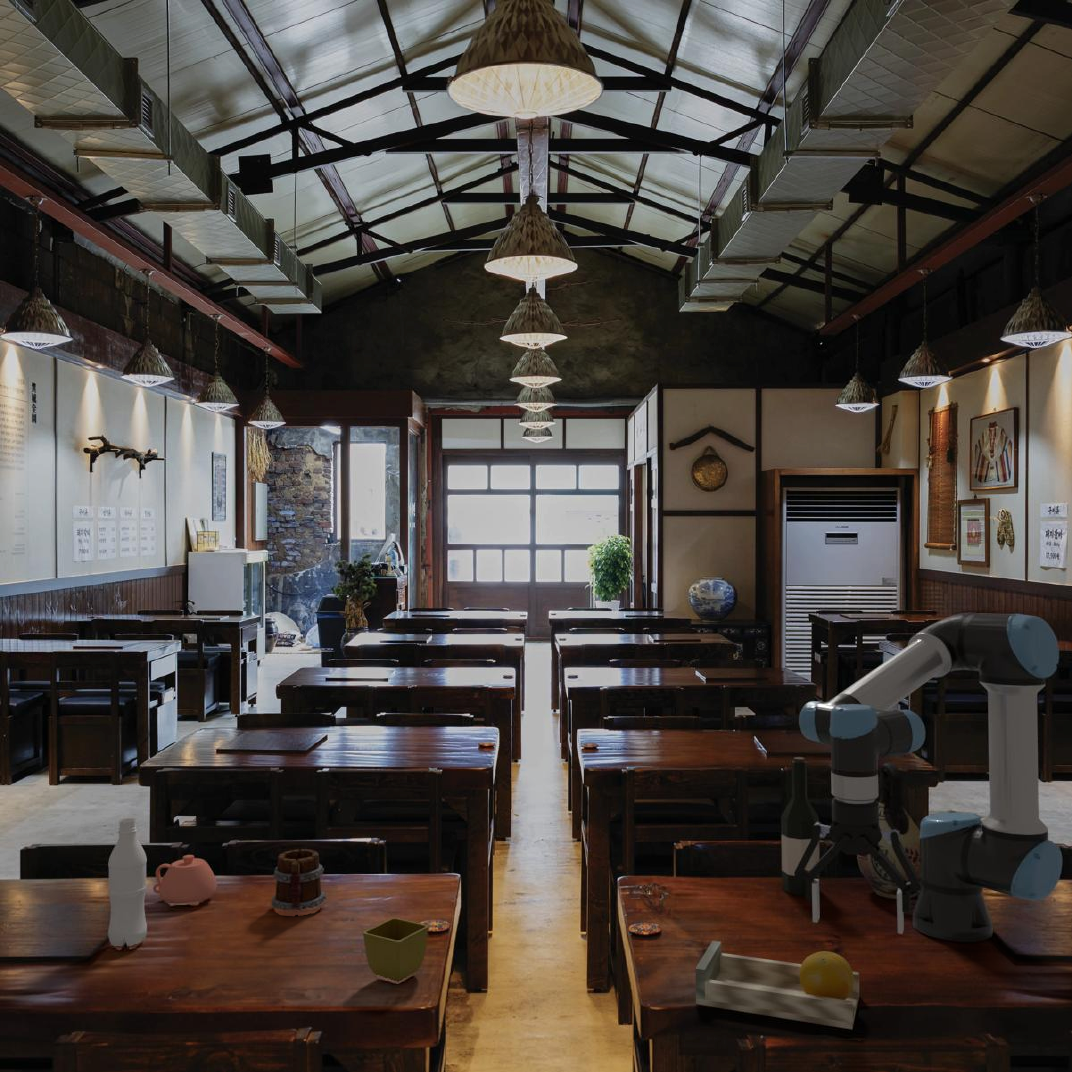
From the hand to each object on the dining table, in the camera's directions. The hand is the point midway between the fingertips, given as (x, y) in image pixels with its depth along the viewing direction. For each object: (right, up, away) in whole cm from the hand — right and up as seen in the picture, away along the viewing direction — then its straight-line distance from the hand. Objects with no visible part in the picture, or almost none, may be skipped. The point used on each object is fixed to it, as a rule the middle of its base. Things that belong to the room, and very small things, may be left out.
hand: (857, 925), depth 168 cm
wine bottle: (+7, -16, +62) cm, 64 cm away
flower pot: (-80, -16, +15) cm, 82 cm away
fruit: (-5, -14, +1) cm, 15 cm away
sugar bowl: (-133, -17, +58) cm, 146 cm away
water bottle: (-135, -17, +32) cm, 140 cm away
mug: (-106, -17, +51) cm, 119 cm away
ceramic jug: (+27, -16, +58) cm, 65 cm away
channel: (-12, -15, +4) cm, 19 cm away
